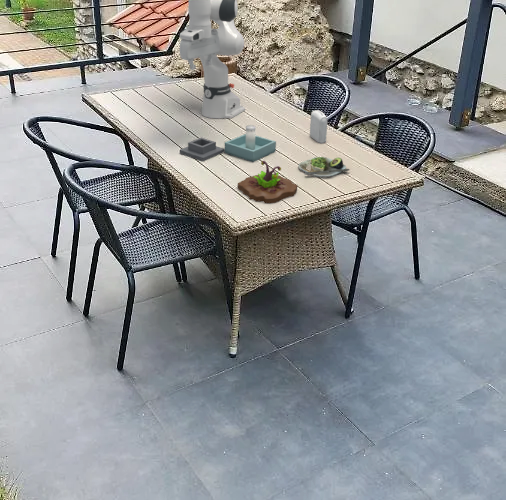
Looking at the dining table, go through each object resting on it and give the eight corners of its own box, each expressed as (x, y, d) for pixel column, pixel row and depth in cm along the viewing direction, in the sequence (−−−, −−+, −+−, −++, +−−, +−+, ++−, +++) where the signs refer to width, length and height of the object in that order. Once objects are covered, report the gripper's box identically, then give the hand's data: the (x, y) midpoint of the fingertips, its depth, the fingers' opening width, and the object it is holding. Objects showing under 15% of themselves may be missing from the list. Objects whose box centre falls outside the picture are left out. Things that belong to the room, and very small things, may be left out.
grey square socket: (201, 144, 277) (200, 134, 274) (224, 152, 270) (224, 141, 268) (179, 153, 268) (179, 142, 266) (203, 161, 261) (203, 150, 259)
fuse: (249, 147, 272) (249, 124, 267) (257, 149, 270) (257, 126, 265) (243, 150, 270) (243, 126, 265) (251, 152, 268) (251, 129, 262)
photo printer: (308, 135, 289) (310, 108, 283) (317, 134, 290) (319, 107, 284) (318, 143, 281) (320, 116, 274) (327, 142, 282) (329, 115, 276)
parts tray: (247, 143, 279) (247, 132, 277) (275, 151, 272) (276, 141, 269) (224, 152, 269) (224, 142, 267) (253, 162, 261) (253, 151, 259)
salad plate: (320, 185, 245) (321, 173, 242) (287, 170, 256) (287, 159, 254) (354, 172, 256) (355, 161, 254) (320, 158, 267) (321, 148, 265)
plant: (269, 175, 251) (270, 148, 246) (305, 192, 239) (307, 163, 233) (228, 189, 240) (229, 160, 234) (264, 207, 227) (265, 178, 222)
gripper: (211, 26, 268) (212, 61, 275) (176, 34, 254) (177, 70, 261) (223, 29, 264) (223, 63, 271) (188, 37, 250) (189, 73, 257)
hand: (200, 67), depth 266 cm, fingers open, 8 cm apart
